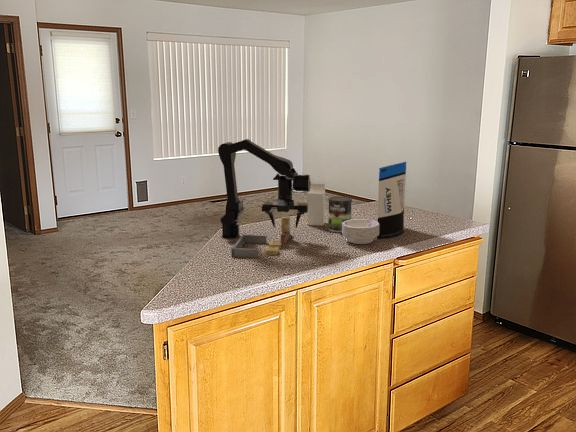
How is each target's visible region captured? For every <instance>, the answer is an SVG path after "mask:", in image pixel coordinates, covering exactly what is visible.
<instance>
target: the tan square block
mask: <svg viewBox="0 0 576 432" xmlns="http://www.w3.org/2000/svg"><path fill="white" fill-rule="evenodd" d="M282 246H283V244H282V242H281V241H273V240H271V241H270V242H269V244H268V247H278V248H279V250H280V249H281V248H282Z"/></svg>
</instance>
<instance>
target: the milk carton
mask: <svg viewBox="0 0 576 432" xmlns="http://www.w3.org/2000/svg"><path fill="white" fill-rule="evenodd" d="M307 204H308V211H307V226H320V227H321V226H324V224H325V222H326V188H325V183H312V182H311V188H310V192H307Z"/></svg>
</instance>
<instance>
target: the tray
mask: <svg viewBox="0 0 576 432" xmlns="http://www.w3.org/2000/svg"><path fill="white" fill-rule="evenodd" d="M267 237H268V236H267V235H266V234H264V235H261V234H242V235H241V236H240V237H239V238H238V240H237V241H236V242H235V244H234V245H233V246H232V247H231V249H230V250H231V257H232V258H234V257H239V258H259V249H258V248H242V247H243V245H244V244H245V243H248V244H249V243H251V244H253V243H254V244H267V243H268V241H267V240H268V239H267Z"/></svg>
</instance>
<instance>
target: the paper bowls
mask: <svg viewBox="0 0 576 432" xmlns="http://www.w3.org/2000/svg"><path fill="white" fill-rule="evenodd" d="M341 235H342V236H344V237H345V238H346V239H347V241H348V242H349V243H352V244H355V245H367V244H371V243H372V242H373V241H374V240H375V238H377V236H378V235H379V223H378V220H373V219H367V218H366V219H365V218H356V219H354V218H353V219H352V218H351V220H347V221H344V222H343V223H342V232H341Z"/></svg>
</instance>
